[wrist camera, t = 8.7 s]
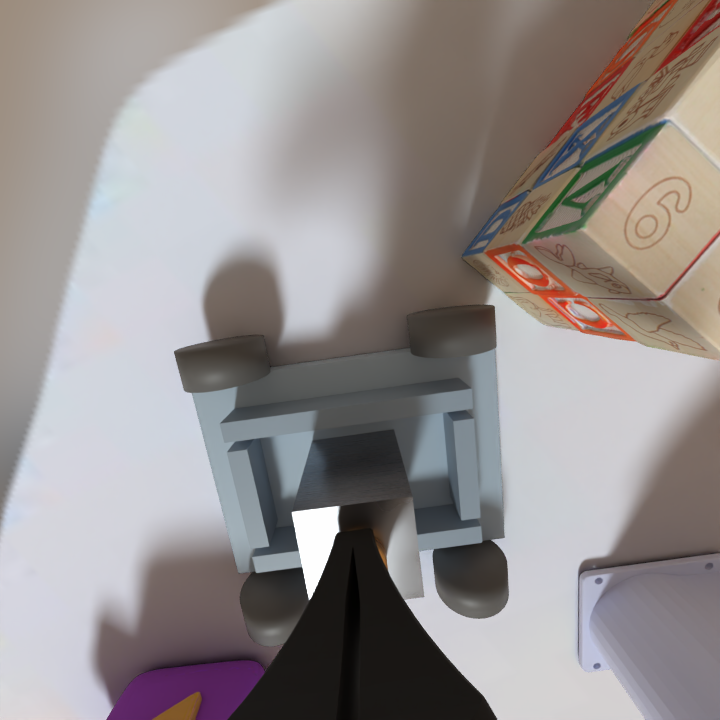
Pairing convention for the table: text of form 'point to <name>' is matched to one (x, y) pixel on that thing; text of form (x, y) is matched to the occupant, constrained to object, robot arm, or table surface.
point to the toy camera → (188, 692)
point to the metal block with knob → (358, 505)
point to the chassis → (349, 417)
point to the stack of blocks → (626, 197)
